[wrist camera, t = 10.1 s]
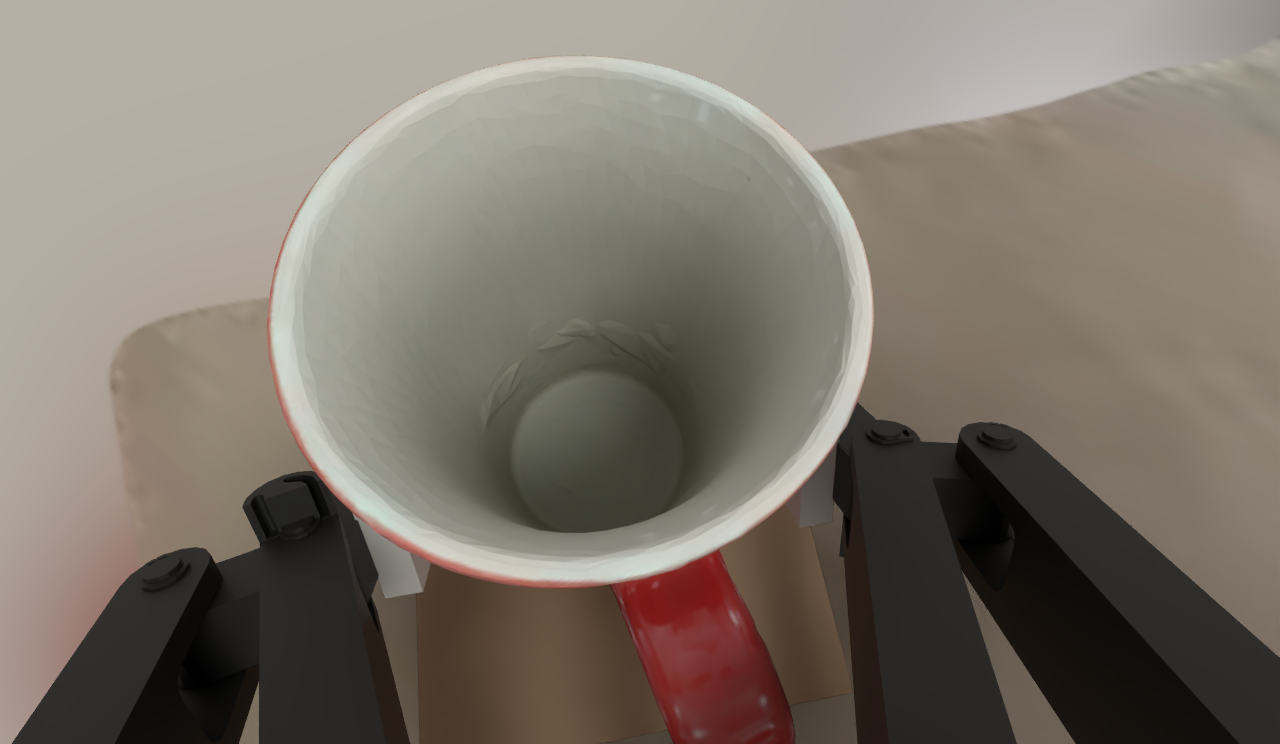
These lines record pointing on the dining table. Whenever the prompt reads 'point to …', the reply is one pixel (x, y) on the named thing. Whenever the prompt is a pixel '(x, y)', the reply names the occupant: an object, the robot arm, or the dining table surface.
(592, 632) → the walnut stand
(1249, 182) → the dining table surface
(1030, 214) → the dining table surface
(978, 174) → the dining table surface
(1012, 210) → the dining table surface
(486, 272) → the mug
